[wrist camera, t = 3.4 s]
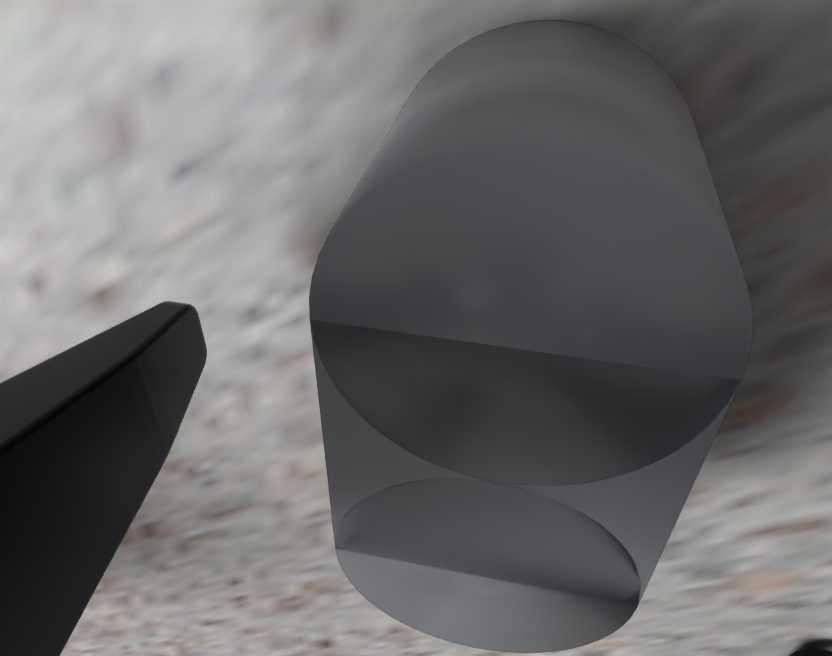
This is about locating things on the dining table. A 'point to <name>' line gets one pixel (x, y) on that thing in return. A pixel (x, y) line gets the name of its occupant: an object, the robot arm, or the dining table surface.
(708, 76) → the dining table surface
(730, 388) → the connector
